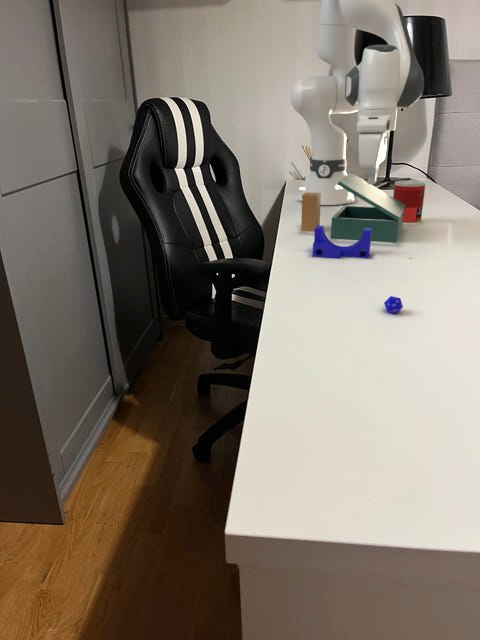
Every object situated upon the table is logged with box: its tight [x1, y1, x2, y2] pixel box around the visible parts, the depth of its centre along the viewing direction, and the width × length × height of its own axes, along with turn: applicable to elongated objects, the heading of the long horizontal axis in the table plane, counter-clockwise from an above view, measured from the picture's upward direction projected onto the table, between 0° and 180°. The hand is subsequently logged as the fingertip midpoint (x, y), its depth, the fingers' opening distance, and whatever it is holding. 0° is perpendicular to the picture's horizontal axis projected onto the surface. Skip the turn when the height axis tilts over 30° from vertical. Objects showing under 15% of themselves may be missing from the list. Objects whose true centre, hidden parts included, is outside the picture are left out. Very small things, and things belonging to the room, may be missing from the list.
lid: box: [337, 172, 405, 221], centre depth 123 cm, size 16×17×1 cm
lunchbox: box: [330, 205, 404, 244], centre depth 126 cm, size 16×17×6 cm
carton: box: [300, 192, 321, 232], centre depth 130 cm, size 4×4×10 cm
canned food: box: [392, 179, 426, 224], centre depth 138 cm, size 8×8×11 cm
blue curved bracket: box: [312, 225, 372, 259], centre depth 110 cm, size 12×4×6 cm, turn 72°
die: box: [383, 295, 404, 315], centre depth 81 cm, size 3×3×3 cm
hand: (371, 183), depth 122 cm, fingers closed
